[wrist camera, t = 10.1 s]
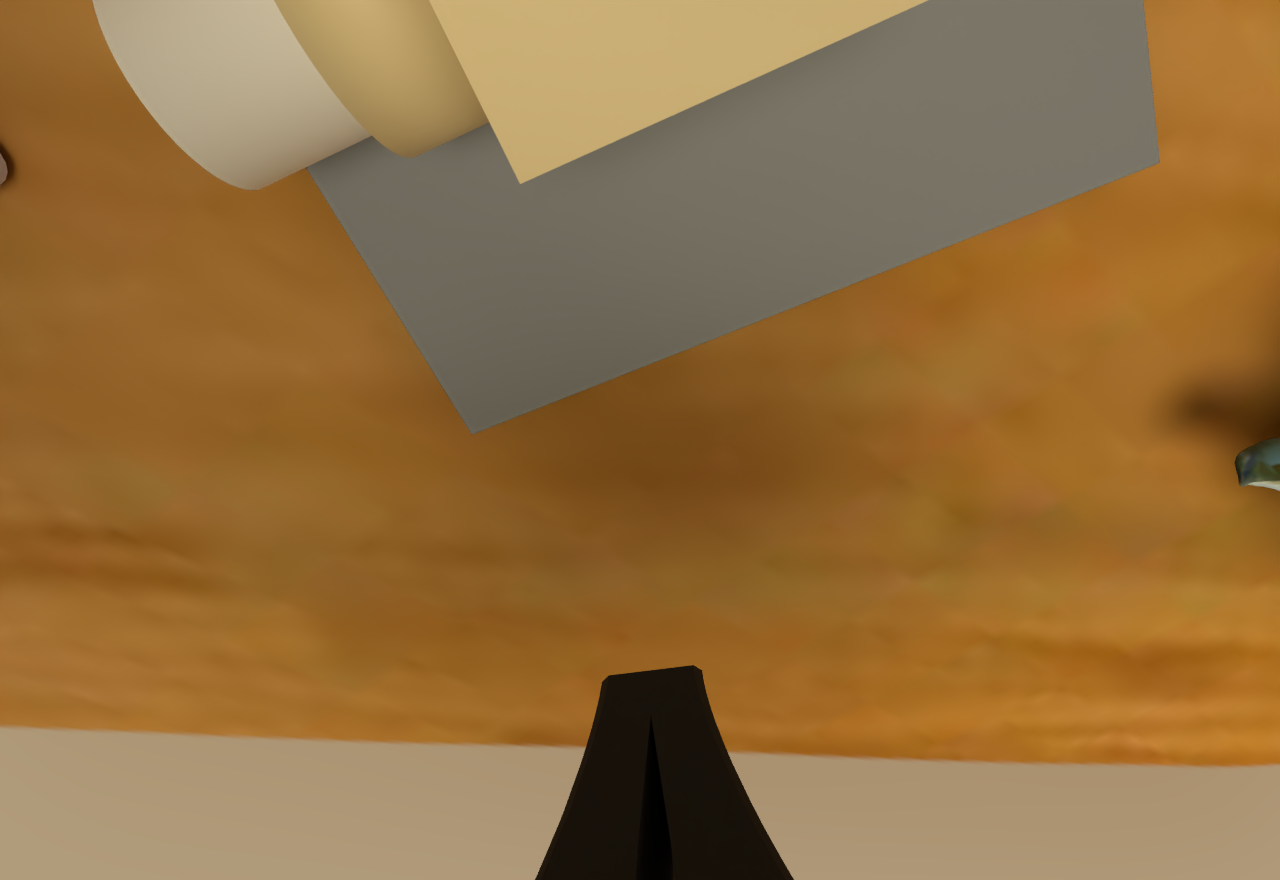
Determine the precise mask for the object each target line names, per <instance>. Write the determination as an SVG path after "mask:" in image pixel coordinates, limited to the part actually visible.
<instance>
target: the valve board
mask: <svg viewBox="0 0 1280 880" xmlns="http://www.w3.org/2000/svg"><path fill="white" fill-rule="evenodd" d="M93 5H94V9H95V13H96V16H97V19H98V22H99V25H100V27H101V30H102V32H103V35H104V37H105V39H106V42H107V44H108V46H109V48H110V50H111V52H112V54H113V56H114V58H115V60H116V62H117V64H118V66H119V67H120V69H121V71H122V72H123V74H124V76H125V78H126V79H127V81H128V82H129V84H130V86H131V87H132V89H133V90H134V92H135V93H136V95H137V96H138V98H139V99H140V100H141V102H142V103H143V104H144V106H145V107H146V109H147V110H148V111H149V113H150V114H151V115H152V116H153V118H154V119H155V120H156V121H157V122H158V124H159V125H160V126H161V127H162V129H163V130H164V131H165V132H166V133H167V134H168V135H169V136H170V137H171V138H172V140H173V141H174V142H175V143H176V144H177V145H178V146H179V147H180V148H181V149H182V150H183V151H184V152H185V153H187V154H188V155H189V156H190V157H191V158H192V159H193V160H194V161H196V162H197V163H198V164H199V165H200V166H202V167H203V168H204V169H206V170H207V171H208V172H210V173H211V174H213V175H214V176H216V177H217V178H219V179H221V180H222V181H224V182H226V183H228V184H230V185H233V186H235V187H238V188H241V189H245V190H258V189H262V188H264V187H266V186H268V185H270V184H272V183H274V182H276V181H278V180H281V179H283V178H285V177H287V176H289V175H291V174H293V173H295V172H297V171H299V170H301V169H304V168H306V169H307V170H308V172H309V173H310V175H311V177H312V178H313V180H314V181H315V183H316V185H317V186H318V188H319V189H320V191H321V193H322V194H323V196H324V197H325V199H326V201H327V202H328V204H329V206H330V207H331V209H332V210H333V212H334V214H335V215H336V217H337V218H338V220H339V222H340V223H341V225H342V226H343V228H344V230H345V231H346V233H347V234H348V236H349V238H350V239H351V241H352V243H353V244H354V246H355V247H356V249H357V251H358V252H359V254H360V255H361V257H362V259H363V260H364V262H365V263H366V265H367V267H368V268H369V270H370V271H371V273H372V275H373V276H374V278H375V280H376V281H377V283H378V284H379V286H380V288H381V289H382V291H383V292H384V294H385V296H386V297H387V299H388V300H389V302H390V304H391V305H392V307H393V308H394V310H395V312H396V313H397V315H398V317H399V318H400V320H401V321H402V323H403V325H404V326H405V328H406V329H407V331H408V333H409V334H410V336H411V337H412V339H413V341H414V342H415V344H416V346H417V347H418V349H419V350H420V352H421V354H422V355H423V357H424V358H425V360H426V362H427V363H428V365H429V366H430V368H431V370H432V371H433V373H434V374H435V376H436V378H437V379H438V381H439V383H440V384H441V386H442V387H443V389H444V391H445V392H446V394H447V395H448V397H449V399H450V400H451V402H452V403H453V405H454V407H455V408H456V410H457V411H458V413H459V415H460V416H461V418H462V420H463V421H464V423H465V424H466V426H467V428H468V429H469V431H470V432H471V434H475V433H477V432H480V431H482V430H485V429H487V428H490V427H492V426H495V425H497V424H500V423H502V422H505V421H507V420H510V419H513V418H515V417H518V416H520V415H523V414H525V413H528V412H530V411H533V410H535V409H538V408H540V407H543V406H545V405H548V404H551V403H553V402H556V401H558V400H561V399H563V398H566V397H568V396H571V395H573V394H576V393H578V392H581V391H583V390H586V389H588V388H591V387H594V386H596V385H599V384H601V383H604V382H606V381H609V380H611V379H614V378H616V377H619V376H621V375H624V374H626V373H629V372H631V371H634V370H637V369H639V368H642V367H644V366H647V365H649V364H652V363H654V362H657V361H659V360H662V359H664V358H667V357H669V356H672V355H674V354H677V353H680V352H682V351H685V350H687V349H690V348H692V347H695V346H697V345H700V344H702V343H705V342H707V341H710V340H712V339H715V338H718V337H720V336H723V335H725V334H728V333H730V332H733V331H735V330H738V329H740V328H743V327H745V326H748V325H750V324H753V323H755V322H758V321H761V320H763V319H766V318H768V317H771V316H773V315H776V314H778V313H781V312H783V311H786V310H788V309H791V308H793V307H796V306H798V305H801V304H804V303H806V302H809V301H811V300H814V299H816V298H819V297H821V296H824V295H826V294H829V293H831V292H834V291H836V290H839V289H841V288H844V287H847V286H849V285H852V284H854V283H857V282H859V281H862V280H864V279H867V278H869V277H872V276H874V275H877V274H879V273H882V272H885V271H887V270H890V269H892V268H895V267H897V266H900V265H902V264H905V263H907V262H910V261H912V260H915V259H917V258H920V257H922V256H925V255H928V254H930V253H933V252H935V251H938V250H940V249H943V248H945V247H948V246H950V245H953V244H955V243H958V242H960V241H963V240H965V239H968V238H971V237H973V236H976V235H978V234H981V233H983V232H986V231H988V230H991V229H993V228H996V227H998V226H1001V225H1003V224H1006V223H1008V222H1011V221H1014V220H1016V219H1019V218H1021V217H1024V216H1026V215H1029V214H1031V213H1034V212H1036V211H1039V210H1041V209H1044V208H1046V207H1049V206H1052V205H1054V204H1057V203H1059V202H1062V201H1064V200H1067V199H1069V198H1072V197H1074V196H1077V195H1079V194H1082V193H1084V192H1087V191H1089V190H1092V189H1095V188H1097V187H1100V186H1102V185H1105V184H1107V183H1110V182H1112V181H1115V180H1117V179H1120V178H1122V177H1125V176H1127V175H1130V174H1132V173H1135V172H1138V171H1140V170H1143V169H1145V168H1148V167H1150V166H1153V165H1155V164H1158V163H1160V159H1159V149H1158V140H1157V130H1156V120H1155V110H1154V100H1153V91H1152V81H1151V71H1150V61H1149V51H1148V42H1147V32H1146V22H1145V12H1144V3H1143V0H93Z"/></svg>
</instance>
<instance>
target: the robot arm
mask: <svg viewBox="0 0 1280 880" xmlns="http://www.w3.org/2000/svg"><path fill="white" fill-rule="evenodd" d="M7 173H8V171H7V166H6V162H5V160H4V159H3V157H2V155H1V154H0V185H1V184H2V183H3V182H4V181H5V180H6V177H7ZM535 880H794V879H793V877H792V876H791V874H790V873H789V871H788V869H787V867H786V866H785V864H784V862H783V860H782V859H781V857H780V855H779V853H778V852H777V850H776V848H775V846H774V844H773V843H772V841H771V839H770V837H769V835H768V834H767V832H766V830H765V829H764V827H763V825H762V823H761V821H760V819H759V817H758V815H757V813H756V811H755V809H754V807H753V806H752V803H751V801H750V800H749V797H748V795H747V793H746V791H745V789H744V787H743V785H742V783H741V781H740V778H739V776H738V774H737V772H736V770H735V768H734V766H733V764H732V762H731V759H730V757H729V755H728V752H727V750H726V748H725V745H724V743H723V740H722V738H721V735H720V732H719V730H718V727H717V725H716V722H715V719H714V716H713V713H712V710H711V707H710V704H709V701H708V697H707V693H706V689H705V685H704V681H703V674H702V670H700V669H699V668H697V667H695V666H694V665H692V666H683V667H675V668H667V669H659V670H651V671H642V672H634V673H626V674H618V675H610V676H608V677H607V678H606V679H605V680H604V681H603V682H602V686H601V691H600V697H599V702H598V706H597V710H596V714H595V718H594V722H593V726H592V729H591V733H590V736H589V739H588V743H587V746H586V749H585V752H584V756H583V759H582V762H581V765H580V768H579V771H578V773H577V776H576V779H575V782H574V785H573V787H572V790H571V793H570V796H569V799H568V801H567V804H566V807H565V810H564V813H563V815H562V817H561V820H560V823H559V825H558V827H557V830H556V832H555V834H554V837H553V839H552V842H551V844H550V847H549V849H548V851H547V854H546V856H545V858H544V860H543V863H542V865H541V867H540V870H539V872H538V875H537V877H536V879H535Z"/></svg>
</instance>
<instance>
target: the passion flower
mask: <svg viewBox="0 0 1280 880" xmlns="http://www.w3.org/2000/svg"><path fill="white" fill-rule="evenodd" d="M1235 467H1236V471H1237V474H1238V479H1239V485H1240V486H1242V487H1244V486H1246V485H1253V486H1263V487H1268V488H1272V489H1275V490H1278V491H1280V438H1272V439H1269V440H1265V441H1261V442H1259V443H1257V444H1255V445H1253V446H1251V447H1248V448H1247V449H1245V450H1243V451H1241V452H1240V453H1239V455H1238V456H1237V457H1236V460H1235Z"/></svg>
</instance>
